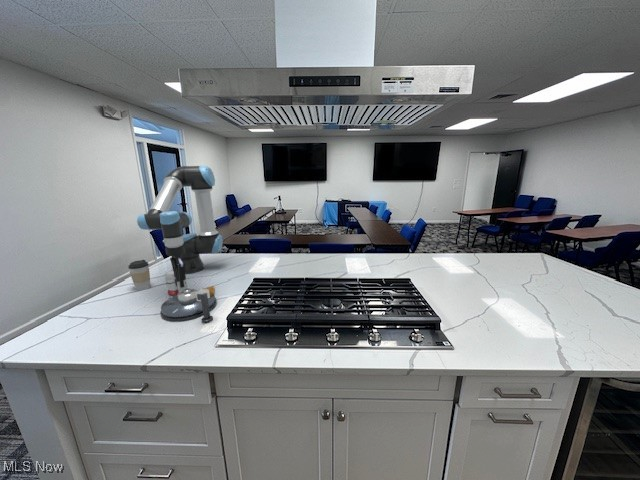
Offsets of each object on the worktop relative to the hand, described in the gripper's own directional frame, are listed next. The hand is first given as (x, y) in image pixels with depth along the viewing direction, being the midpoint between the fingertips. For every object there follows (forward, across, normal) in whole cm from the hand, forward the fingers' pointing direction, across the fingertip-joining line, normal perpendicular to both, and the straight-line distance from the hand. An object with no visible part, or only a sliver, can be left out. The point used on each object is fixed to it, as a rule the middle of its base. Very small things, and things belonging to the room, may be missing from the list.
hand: (182, 292), depth 120 cm
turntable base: (+5, +9, 0) cm, 10 cm away
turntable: (+3, +9, 0) cm, 9 cm away
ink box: (+5, -13, +2) cm, 14 cm away
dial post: (+4, +26, +1) cm, 26 cm away
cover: (+1, +9, 0) cm, 9 cm away
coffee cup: (+5, -34, -10) cm, 36 cm away
